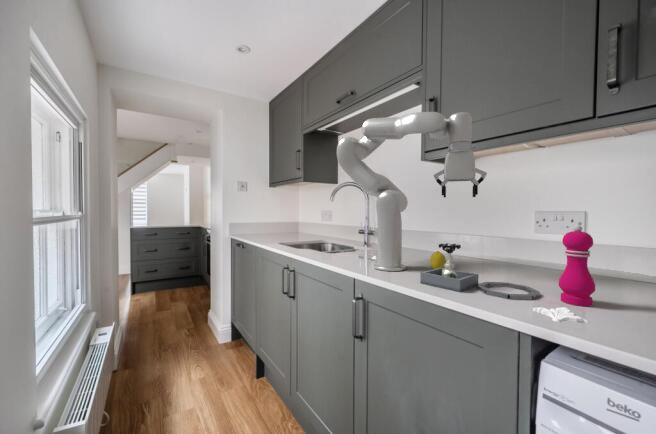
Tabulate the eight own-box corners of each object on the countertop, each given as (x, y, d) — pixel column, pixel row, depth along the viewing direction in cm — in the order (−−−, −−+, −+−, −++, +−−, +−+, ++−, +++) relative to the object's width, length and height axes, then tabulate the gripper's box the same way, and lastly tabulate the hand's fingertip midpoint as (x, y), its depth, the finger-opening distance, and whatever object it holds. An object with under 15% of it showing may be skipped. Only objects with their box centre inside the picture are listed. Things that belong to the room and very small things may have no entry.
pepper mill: (554, 301, 75) (555, 224, 75) (562, 296, 80) (564, 223, 79) (591, 309, 70) (593, 226, 69) (598, 303, 74) (600, 225, 74)
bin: (420, 283, 94) (420, 272, 94) (440, 277, 102) (440, 267, 102) (459, 292, 84) (459, 280, 84) (478, 285, 92) (478, 274, 92)
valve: (440, 284, 90) (440, 245, 90) (436, 279, 96) (436, 243, 96) (463, 285, 89) (463, 246, 88) (457, 279, 95) (457, 243, 95)
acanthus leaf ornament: (532, 313, 69) (532, 305, 69) (561, 313, 69) (561, 305, 69) (557, 325, 61) (557, 316, 61) (590, 325, 61) (590, 316, 61)
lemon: (443, 274, 107) (444, 252, 107) (428, 272, 110) (428, 251, 110) (446, 271, 112) (447, 250, 112) (432, 269, 115) (432, 249, 115)
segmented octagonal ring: (469, 290, 86) (469, 287, 86) (490, 282, 95) (490, 279, 95) (527, 303, 74) (527, 299, 74) (544, 292, 83) (544, 289, 83)
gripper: (485, 149, 104) (484, 197, 104) (434, 152, 110) (433, 197, 111) (488, 145, 97) (488, 196, 97) (433, 148, 103) (433, 197, 104)
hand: (459, 197), depth 104 cm, fingers open, 9 cm apart
